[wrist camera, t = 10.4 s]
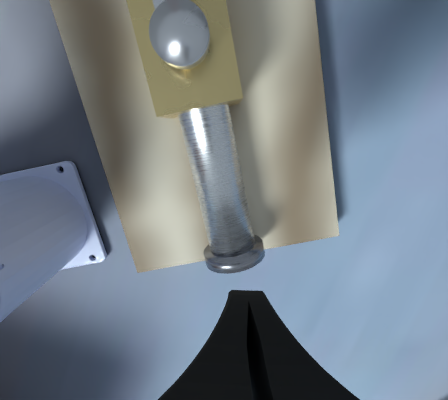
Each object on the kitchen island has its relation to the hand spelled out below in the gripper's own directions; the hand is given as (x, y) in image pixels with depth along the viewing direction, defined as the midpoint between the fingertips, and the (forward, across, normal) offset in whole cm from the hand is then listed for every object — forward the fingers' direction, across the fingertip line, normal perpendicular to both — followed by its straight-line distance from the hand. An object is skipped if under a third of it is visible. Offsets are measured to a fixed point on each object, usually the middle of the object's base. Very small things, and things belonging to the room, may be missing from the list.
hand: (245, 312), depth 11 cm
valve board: (+10, +3, -11) cm, 15 cm away
